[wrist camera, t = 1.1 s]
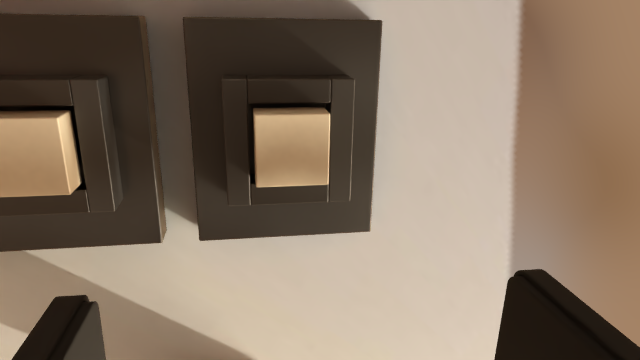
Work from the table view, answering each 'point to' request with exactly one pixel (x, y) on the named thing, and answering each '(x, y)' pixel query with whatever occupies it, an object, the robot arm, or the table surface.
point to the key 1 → (38, 153)
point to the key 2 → (291, 146)
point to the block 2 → (281, 92)
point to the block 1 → (86, 129)
